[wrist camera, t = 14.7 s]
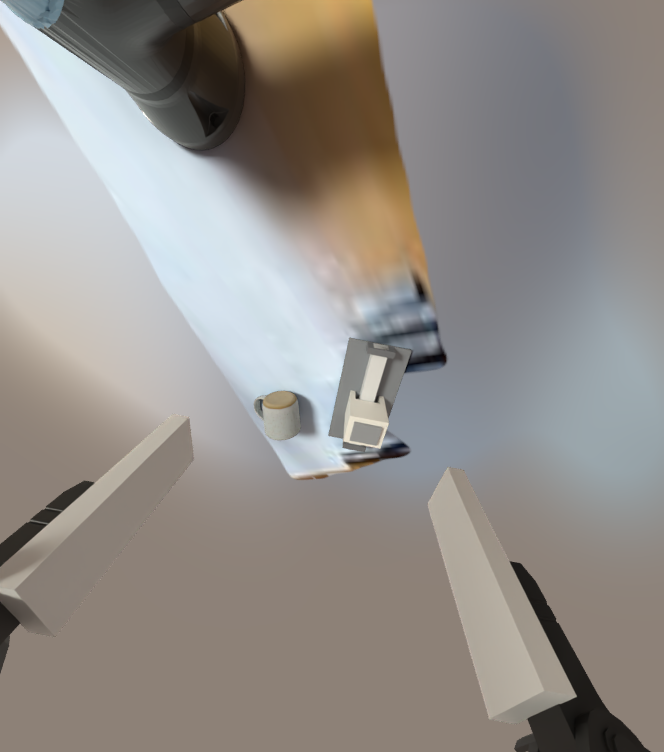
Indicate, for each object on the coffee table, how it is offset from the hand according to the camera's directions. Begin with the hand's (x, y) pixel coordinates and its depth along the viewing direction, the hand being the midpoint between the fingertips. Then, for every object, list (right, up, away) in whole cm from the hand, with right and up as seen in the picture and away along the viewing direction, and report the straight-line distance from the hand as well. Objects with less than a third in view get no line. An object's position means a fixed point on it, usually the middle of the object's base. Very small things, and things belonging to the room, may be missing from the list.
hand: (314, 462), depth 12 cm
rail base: (+8, 0, +40) cm, 41 cm away
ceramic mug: (-11, -2, +43) cm, 45 cm away
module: (+8, -2, +41) cm, 41 cm away
